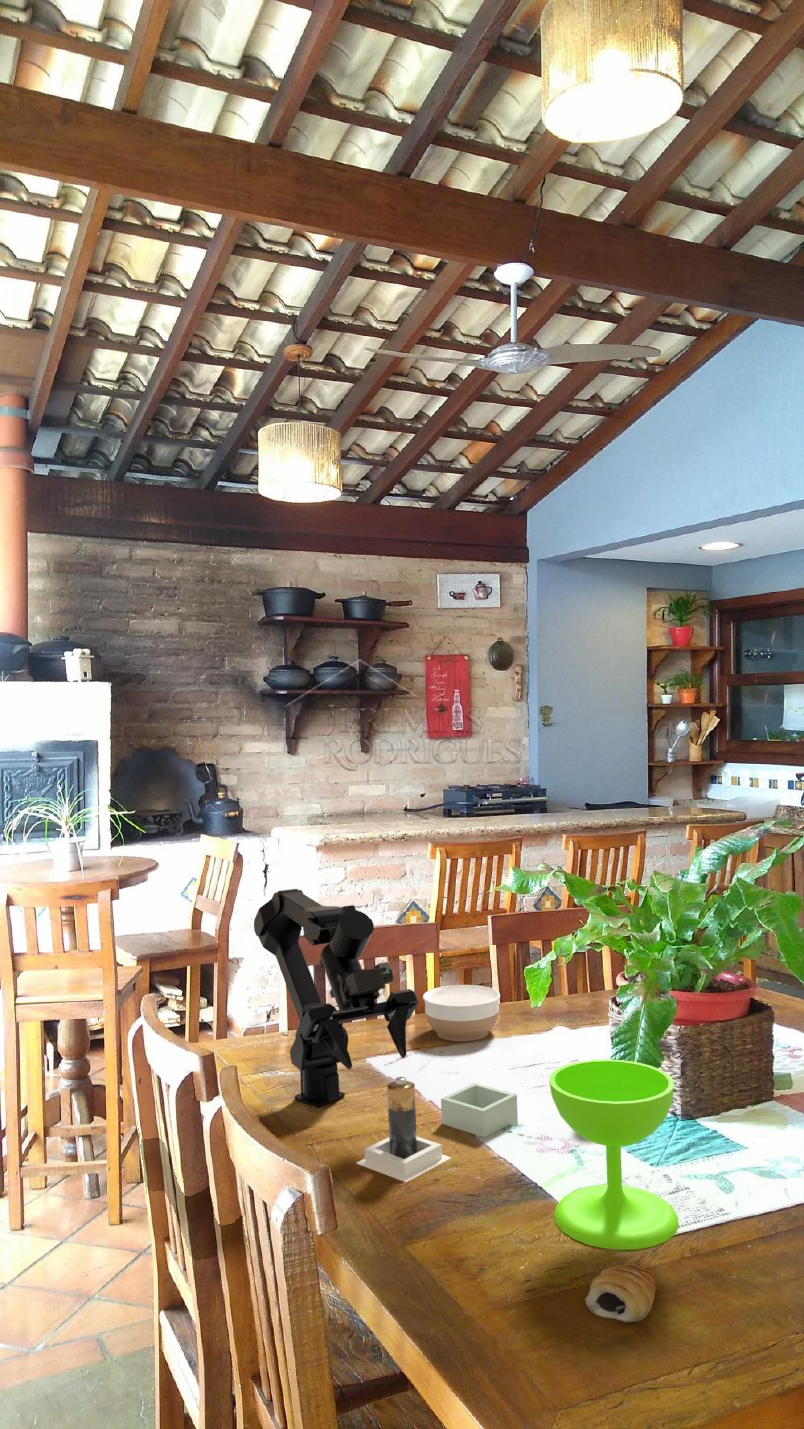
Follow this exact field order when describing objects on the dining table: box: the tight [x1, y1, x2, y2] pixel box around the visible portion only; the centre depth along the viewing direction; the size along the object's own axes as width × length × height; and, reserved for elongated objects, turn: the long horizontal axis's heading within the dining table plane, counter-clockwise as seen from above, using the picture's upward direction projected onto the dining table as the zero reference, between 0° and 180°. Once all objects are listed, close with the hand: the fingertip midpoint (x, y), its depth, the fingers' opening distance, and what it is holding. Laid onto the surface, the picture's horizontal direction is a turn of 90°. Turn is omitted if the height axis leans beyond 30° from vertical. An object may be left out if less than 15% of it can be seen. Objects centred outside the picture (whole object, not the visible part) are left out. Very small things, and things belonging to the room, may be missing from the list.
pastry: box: [584, 1262, 657, 1324], centre depth 117 cm, size 9×7×4 cm
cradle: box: [355, 1135, 452, 1183], centre depth 153 cm, size 10×10×3 cm
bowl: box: [422, 984, 501, 1042], centre depth 215 cm, size 16×16×8 cm
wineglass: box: [548, 1059, 680, 1251], centre depth 136 cm, size 16×16×18 cm
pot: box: [440, 1082, 519, 1138], centre depth 166 cm, size 9×9×5 cm
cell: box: [386, 1076, 417, 1159], centre depth 153 cm, size 4×4×12 cm
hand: (377, 1062), depth 159 cm, fingers open, 9 cm apart
